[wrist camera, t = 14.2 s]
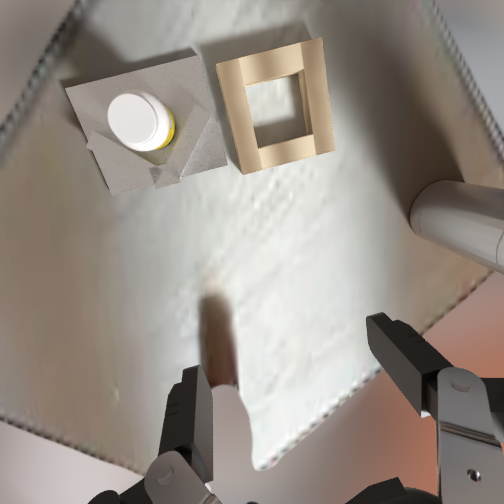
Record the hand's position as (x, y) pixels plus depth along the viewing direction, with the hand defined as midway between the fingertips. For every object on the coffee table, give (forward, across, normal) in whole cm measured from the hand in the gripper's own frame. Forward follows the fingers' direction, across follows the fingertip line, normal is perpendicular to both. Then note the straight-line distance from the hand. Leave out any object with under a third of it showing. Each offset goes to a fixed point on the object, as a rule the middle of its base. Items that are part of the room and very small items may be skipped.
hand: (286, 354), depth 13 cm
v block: (+28, +7, -13) cm, 32 cm away
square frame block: (+28, -8, -11) cm, 31 cm away
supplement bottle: (+27, +7, -13) cm, 31 cm away
